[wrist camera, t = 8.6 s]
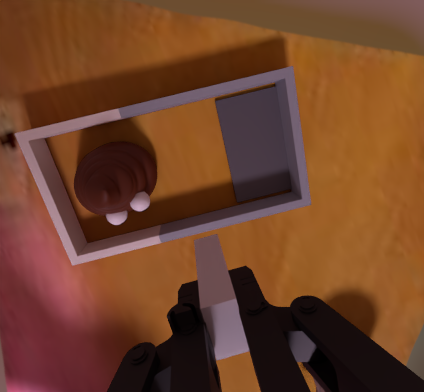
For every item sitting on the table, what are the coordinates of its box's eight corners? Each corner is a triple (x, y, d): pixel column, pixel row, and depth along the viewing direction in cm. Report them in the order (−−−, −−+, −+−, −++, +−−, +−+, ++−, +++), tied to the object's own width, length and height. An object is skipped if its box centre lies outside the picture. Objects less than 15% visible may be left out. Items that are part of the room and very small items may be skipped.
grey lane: (281, 71, 32) (292, 66, 29) (299, 196, 37) (311, 204, 34) (125, 109, 32) (118, 108, 29) (163, 231, 37) (161, 242, 33)
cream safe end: (125, 109, 32) (118, 108, 29) (163, 231, 37) (161, 242, 33) (32, 131, 32) (14, 133, 28) (82, 251, 36) (72, 265, 33)
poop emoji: (134, 126, 33) (114, 130, 24) (172, 186, 35) (168, 209, 26) (64, 169, 33) (20, 188, 24) (107, 224, 36) (81, 260, 27)
